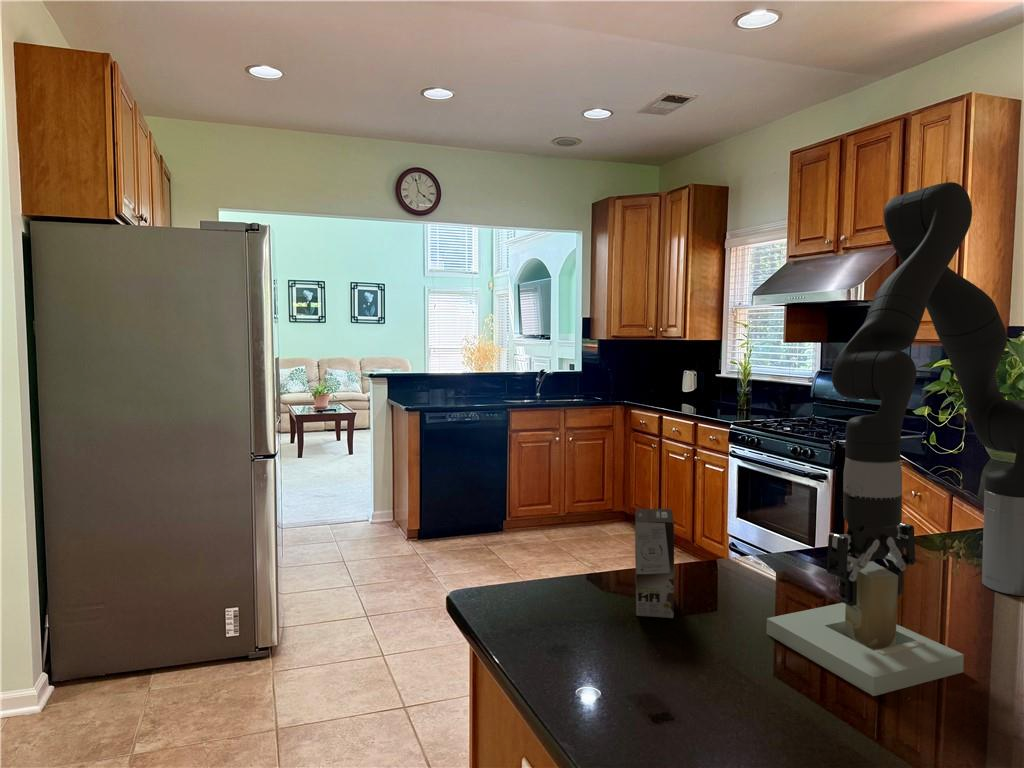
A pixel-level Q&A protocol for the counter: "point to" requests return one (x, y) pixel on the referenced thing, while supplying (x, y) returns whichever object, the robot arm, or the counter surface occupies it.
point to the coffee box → (654, 562)
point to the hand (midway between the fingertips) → (871, 598)
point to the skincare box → (873, 608)
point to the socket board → (864, 651)
